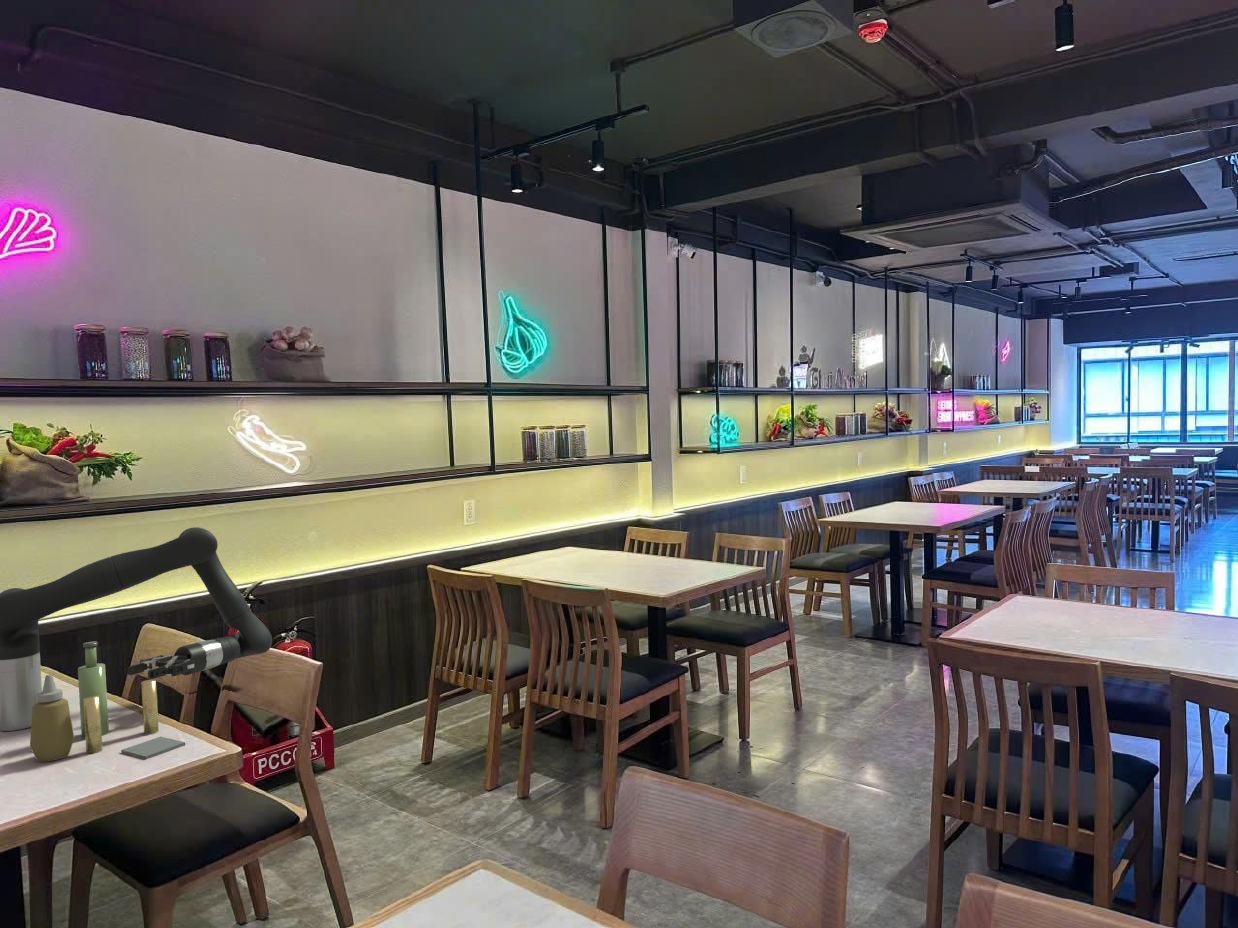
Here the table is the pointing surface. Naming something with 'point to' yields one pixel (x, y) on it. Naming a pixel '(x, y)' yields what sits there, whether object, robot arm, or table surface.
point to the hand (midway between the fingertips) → (138, 673)
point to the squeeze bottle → (51, 724)
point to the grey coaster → (153, 747)
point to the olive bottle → (93, 685)
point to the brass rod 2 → (150, 706)
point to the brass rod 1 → (92, 724)
